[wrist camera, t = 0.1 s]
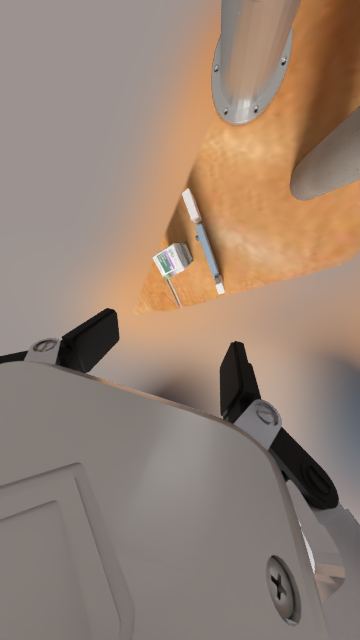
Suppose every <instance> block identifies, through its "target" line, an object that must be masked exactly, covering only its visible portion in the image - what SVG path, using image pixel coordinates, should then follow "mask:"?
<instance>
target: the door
mask: <svg viewBox="0 0 360 640" xmlns="http://www.w3.org/2000/svg"><path fill="white" fill-rule="evenodd" d="M195 229H196V231H197V234H198V235H197V236H196V240H197V241H199V240H200V242H201V245H202V248H203V250H204V253H205V256H206V259H207V261H208V264H209V267H210V270H211V272H212V275H213V277H215V281H218V280H219V270H218V266H217V263H216V260H215V257H214V255H213V252H212V249H211V246H210V243H209V240H208V237H207V234H206V231H205V228H204V226H203V225H202V224H199V225H198V226H196V227H195Z"/></svg>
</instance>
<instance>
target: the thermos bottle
mask: <svg viewBox="0 0 360 640" xmlns="http://www.w3.org/2000/svg"><path fill="white" fill-rule="evenodd" d="M358 180H360V106H359V107H358V108H357V109H356V110H355V111H354V112H353V113H352V114H350V115H349V116H348V117H347V118H346V119H345V120H344V121H343V122H342V123H341V124H340V125H338V126H337V127H336V128H335V129H334V130H333V131H332V132H331V133H330V134H329V135H328V136H327V137H325V138H324V139H323V140H322V141H321V142H320V143H319V144H318V145H317V146H316V147H315V148H314V149H312V150H311V151H310V152H309V153H308V154H307V155H306V156H305V157H304V158H303V159H302V160H301V161H300V162H299V164H298V165H297V167H296V168H295V170H294V172H293V174H292V178H291V182H290V190H291V193H292V195H293V196H294V197H295V198H296V199H298V200H302V201H305V200H310V199H313V198H315V197H318V196H320V195H323V194H325V193H328V192H330V191H333V190H335V189H338V188H340V187H343V186H345V185H348V184H350V183H353V182H355V181H358Z"/></svg>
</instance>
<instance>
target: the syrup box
mask: <svg viewBox="0 0 360 640" xmlns="http://www.w3.org/2000/svg"><path fill="white" fill-rule="evenodd" d="M153 259H154V261H155V263H156V265H157V266H158V268H159V270H160V272H161V274H162V276H163V278H164V280H166V279H168V278H169V277H171V276H173V275H175V274H177V273H179V272H181V271H183V270H185V269H186V268H187V267H188V266H189V265H190V264H191V263H192V262H193V258H192V256H191V254H190V252H189V249H188V247H187V245H186V243H185V242H184V243H173V244H172V245H170V246H169V247H167V248H166V249H164V250H162V251H161V252H159V253H158V254H156V255H155V256H153Z"/></svg>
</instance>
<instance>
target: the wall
mask: <svg viewBox="0 0 360 640" xmlns="http://www.w3.org/2000/svg"><path fill="white" fill-rule="evenodd" d="M182 196H183V199H184V201H185V204H186V207H187V209H188V212H189V215H190V218H191V220H192V221H193V222H195V223H198V222H200V221H202V218H201V215H200V212H199V209H198V207H197V204H196V201H195V198H194V196H193V195H192V193H191V191H190V190H189V188H188V189H187V190H186V191H184V192H183V193H182ZM215 285H216V288H217V291H218V294H222V293H224V292H225V289H224V282H223V280H222V277H221V275H219V280H218V281H216V283H215Z"/></svg>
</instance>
